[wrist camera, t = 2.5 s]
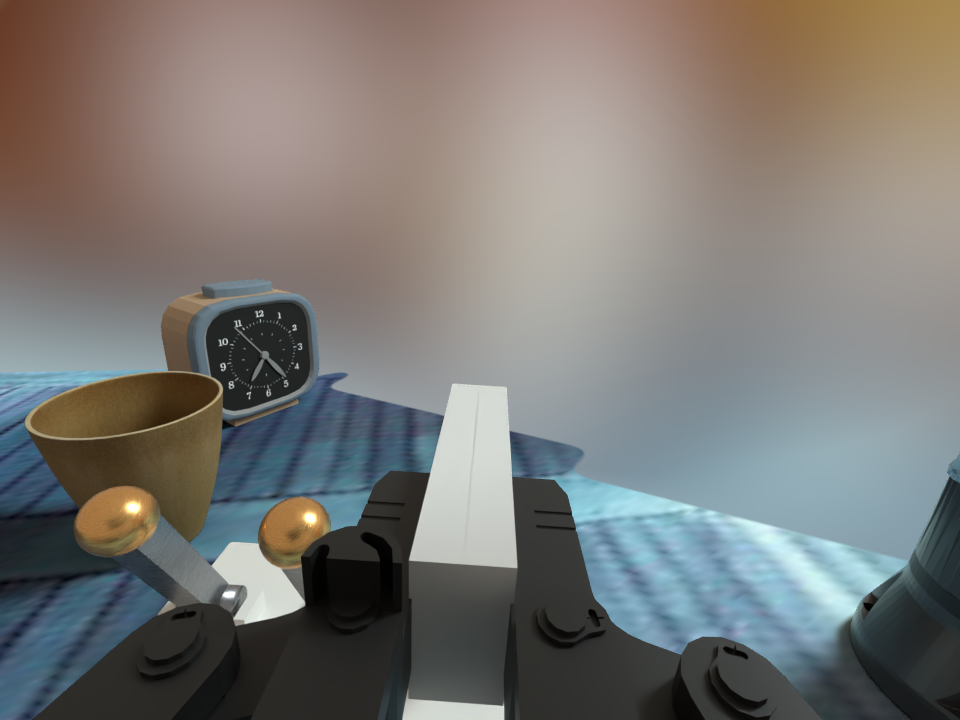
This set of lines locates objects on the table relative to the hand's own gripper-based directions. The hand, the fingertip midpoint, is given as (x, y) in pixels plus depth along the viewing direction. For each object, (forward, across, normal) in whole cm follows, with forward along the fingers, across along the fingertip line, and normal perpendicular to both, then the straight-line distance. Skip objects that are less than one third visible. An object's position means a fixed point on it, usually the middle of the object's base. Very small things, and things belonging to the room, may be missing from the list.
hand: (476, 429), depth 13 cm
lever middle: (+11, -8, -20) cm, 25 cm away
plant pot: (+27, -33, -29) cm, 52 cm away
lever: (+11, -17, -20) cm, 29 cm away
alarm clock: (+58, -39, -29) cm, 76 cm away
